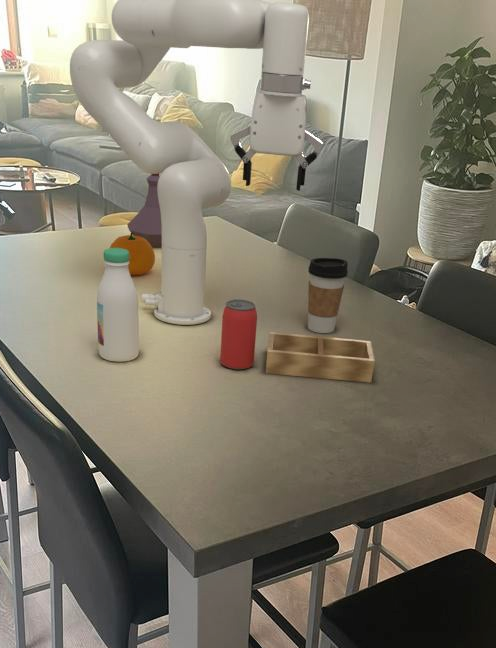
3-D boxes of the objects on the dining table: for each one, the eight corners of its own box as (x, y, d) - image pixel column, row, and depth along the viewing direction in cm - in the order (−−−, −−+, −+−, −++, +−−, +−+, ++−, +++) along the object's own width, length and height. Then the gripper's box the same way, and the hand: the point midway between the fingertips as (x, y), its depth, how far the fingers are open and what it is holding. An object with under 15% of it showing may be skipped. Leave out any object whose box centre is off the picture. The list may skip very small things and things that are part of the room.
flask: (118, 246, 217) (116, 170, 206) (135, 233, 231) (135, 161, 220) (175, 253, 216) (176, 176, 205) (189, 240, 229) (191, 167, 218)
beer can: (219, 357, 154) (222, 297, 147) (252, 358, 155) (256, 299, 148) (220, 370, 148) (223, 308, 142) (254, 371, 149) (259, 310, 143)
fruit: (164, 272, 200) (164, 232, 194) (134, 281, 191) (134, 240, 186) (129, 262, 205) (128, 223, 199) (98, 271, 196) (97, 230, 191)
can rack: (265, 373, 149) (267, 351, 146) (267, 353, 158) (269, 331, 155) (371, 383, 149) (374, 360, 146) (367, 362, 158) (370, 341, 155)
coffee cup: (337, 337, 169) (347, 268, 160) (299, 332, 170) (306, 262, 161) (341, 325, 175) (350, 258, 167) (304, 320, 177) (312, 253, 168)
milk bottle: (145, 352, 153) (145, 249, 142) (127, 365, 147) (125, 258, 136) (110, 345, 155) (107, 242, 144) (91, 358, 149) (86, 251, 138)
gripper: (329, 88, 142) (317, 187, 151) (234, 79, 142) (229, 179, 151) (330, 91, 135) (318, 195, 145) (231, 82, 135) (226, 186, 145)
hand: (273, 187), depth 148 cm, fingers open, 9 cm apart
